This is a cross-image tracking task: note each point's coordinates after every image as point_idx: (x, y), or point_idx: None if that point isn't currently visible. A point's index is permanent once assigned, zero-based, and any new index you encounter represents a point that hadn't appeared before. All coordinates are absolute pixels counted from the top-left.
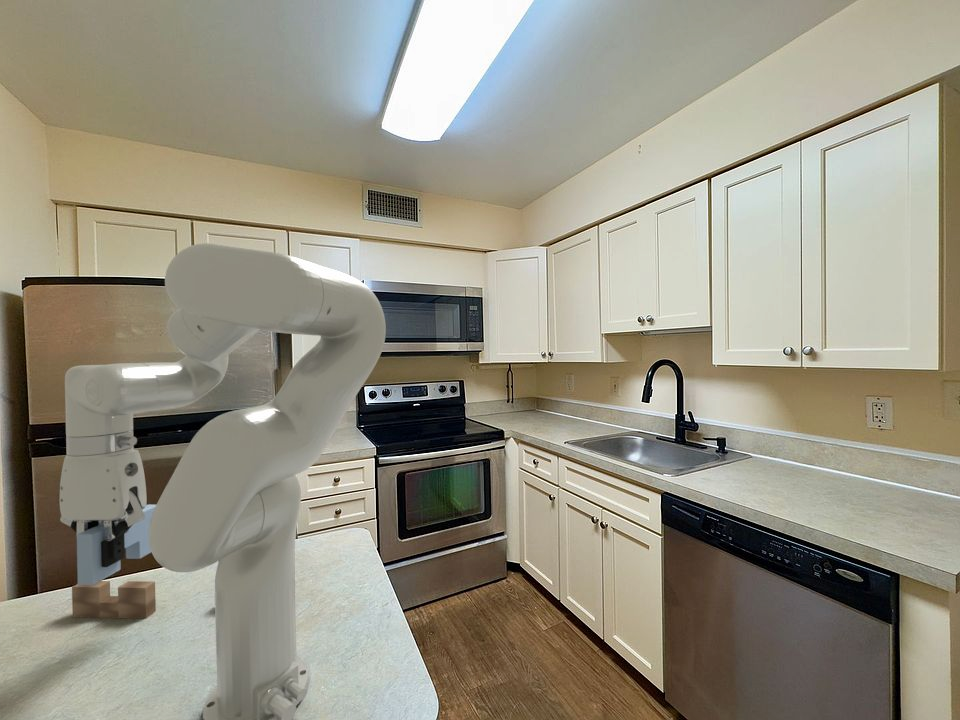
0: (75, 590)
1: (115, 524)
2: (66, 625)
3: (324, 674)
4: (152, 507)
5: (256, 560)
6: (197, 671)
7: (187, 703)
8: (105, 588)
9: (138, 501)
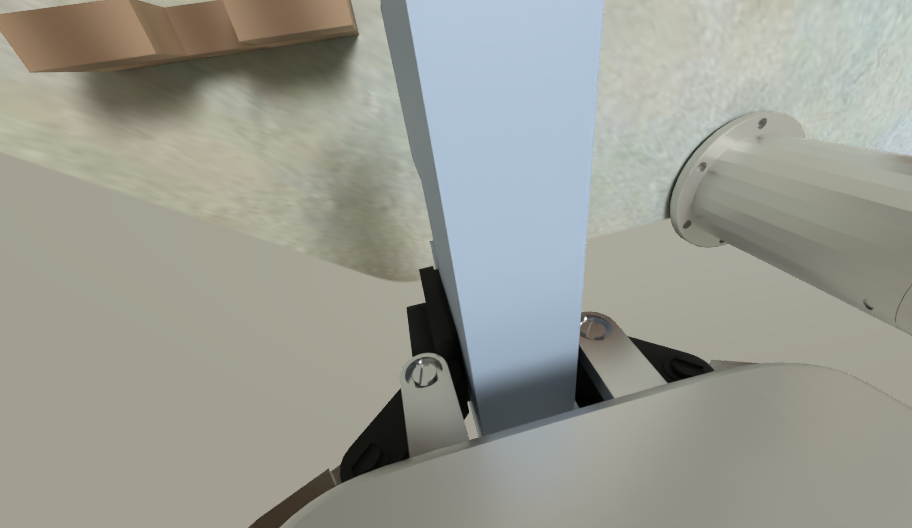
0: (57, 69)
1: (573, 382)
2: (162, 108)
3: (814, 124)
4: (580, 26)
5: None
6: (617, 164)
7: (638, 215)
8: (151, 24)
9: (822, 424)
